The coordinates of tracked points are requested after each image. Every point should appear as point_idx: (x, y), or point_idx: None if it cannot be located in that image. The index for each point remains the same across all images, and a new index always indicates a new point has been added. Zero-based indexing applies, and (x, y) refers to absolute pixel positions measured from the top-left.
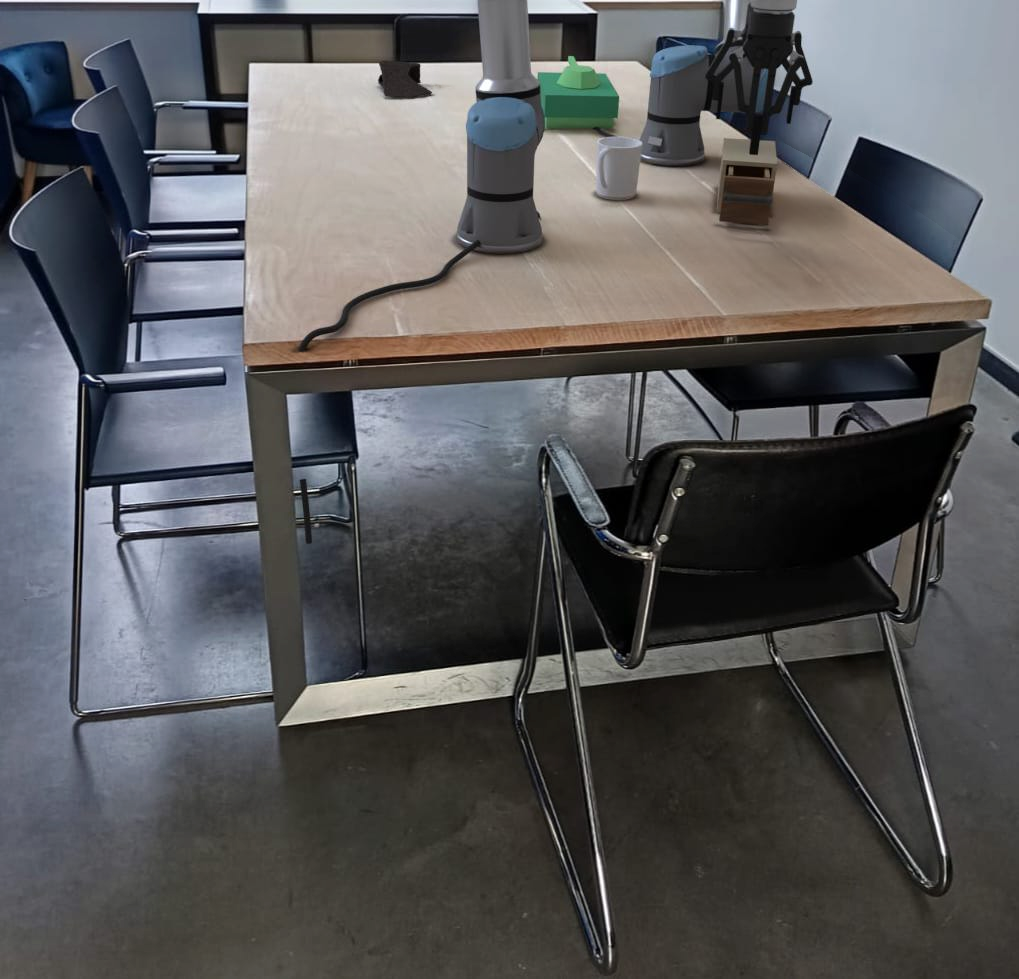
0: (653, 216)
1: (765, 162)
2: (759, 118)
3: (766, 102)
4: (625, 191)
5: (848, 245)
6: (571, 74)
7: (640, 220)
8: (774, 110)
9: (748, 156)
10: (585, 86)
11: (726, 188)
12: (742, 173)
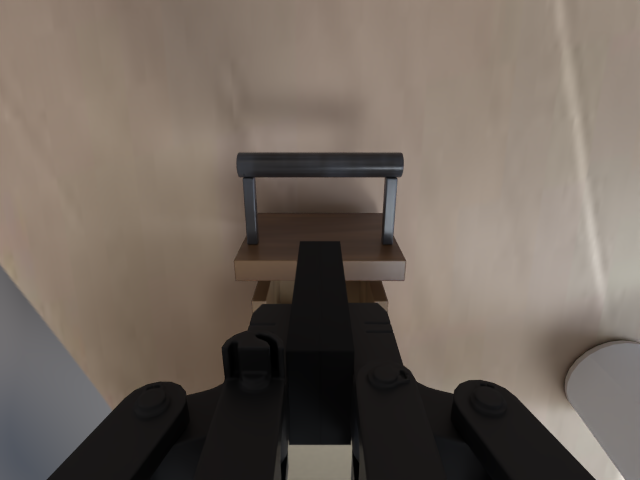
0: (540, 248)
1: None
2: (312, 344)
3: (255, 458)
4: (609, 356)
5: (47, 134)
6: None
7: (579, 210)
8: (183, 401)
9: (324, 449)
10: None
11: (389, 246)
12: None
